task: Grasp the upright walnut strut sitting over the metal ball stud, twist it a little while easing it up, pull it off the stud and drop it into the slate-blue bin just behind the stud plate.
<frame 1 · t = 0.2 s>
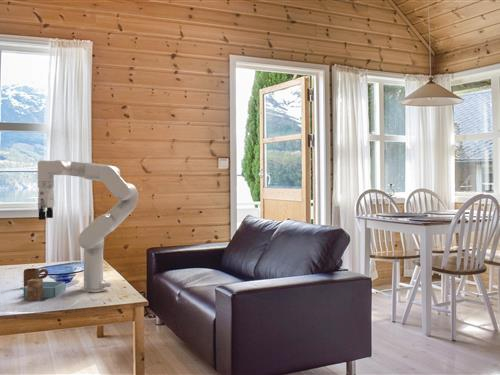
hand: (45, 218, 256), 36 cm above the table, tool pointing down, fingers open, 9 cm apart
bin: (45, 295, 245), on the table
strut: (35, 299, 234), point 1 cm above the table, touching stud plate
stud plate: (35, 301, 234), on the table
mug: (36, 287, 264), on the table
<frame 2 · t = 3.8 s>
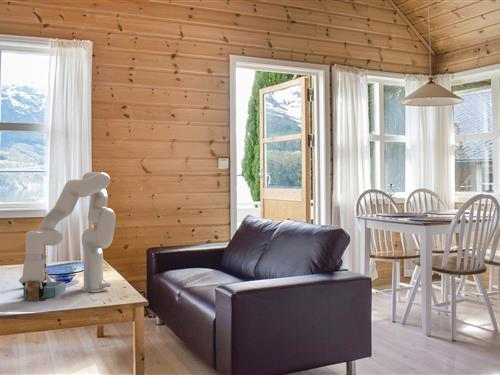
hand: (35, 296, 234), 2 cm above the table, tool pointing down, fingers closed on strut, 5 cm apart
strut: (35, 299, 234), point 1 cm above the table, touching gripper, stud plate
everything else where it was.
when the fingers open (4 cm above the table, at t = 12.0 s): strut drops 2 cm, resting on bin.
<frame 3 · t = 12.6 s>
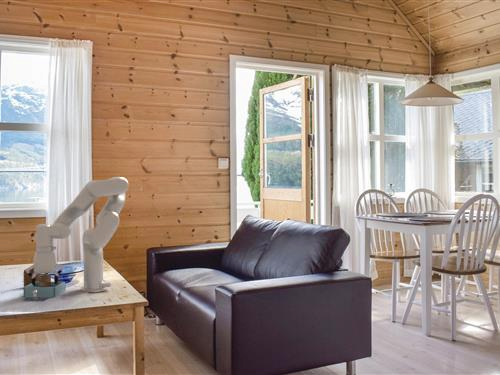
hand: (45, 284, 245), 5 cm above the table, tool pointing down, fingers open, 9 cm apart
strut: (44, 294, 245), point 1 cm above the table, touching bin
everything else where it was.
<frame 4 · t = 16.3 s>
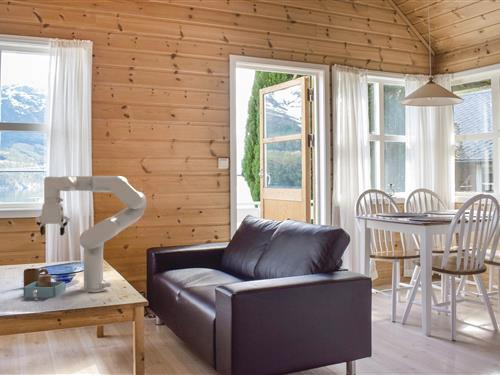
hand: (52, 234, 255), 28 cm above the table, tool pointing down, fingers open, 9 cm apart
nothing on the table moved.
at the end: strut inside the target area on the bin (0.1 cm from its centre), point 0.8 cm above the bin's base; the gripper is holding nothing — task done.
